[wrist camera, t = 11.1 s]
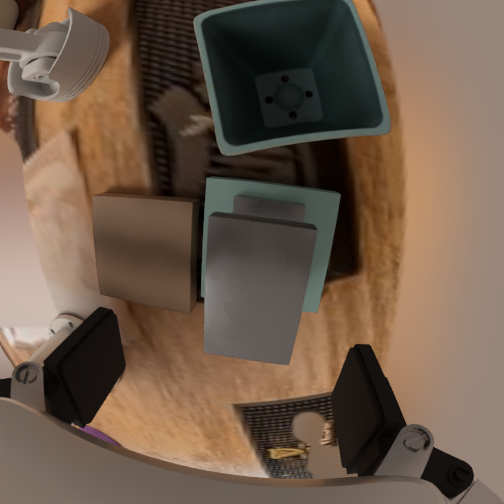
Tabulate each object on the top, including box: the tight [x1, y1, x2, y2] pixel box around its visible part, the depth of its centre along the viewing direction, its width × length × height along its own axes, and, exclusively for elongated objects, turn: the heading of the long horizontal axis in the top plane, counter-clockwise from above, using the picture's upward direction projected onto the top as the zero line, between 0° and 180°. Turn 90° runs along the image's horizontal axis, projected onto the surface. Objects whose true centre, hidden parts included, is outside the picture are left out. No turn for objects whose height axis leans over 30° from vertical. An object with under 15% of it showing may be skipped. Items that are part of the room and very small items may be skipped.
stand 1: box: [92, 193, 200, 314], centre depth 23 cm, size 10×10×2 cm
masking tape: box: [79, 426, 119, 446], centre depth 40 cm, size 12×12×4 cm
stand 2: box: [201, 176, 341, 313], centre depth 22 cm, size 10×10×2 cm
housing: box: [204, 195, 318, 365], centre depth 17 cm, size 8×5×8 cm, turn 174°
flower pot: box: [193, 0, 391, 156], centre depth 15 cm, size 9×9×9 cm
